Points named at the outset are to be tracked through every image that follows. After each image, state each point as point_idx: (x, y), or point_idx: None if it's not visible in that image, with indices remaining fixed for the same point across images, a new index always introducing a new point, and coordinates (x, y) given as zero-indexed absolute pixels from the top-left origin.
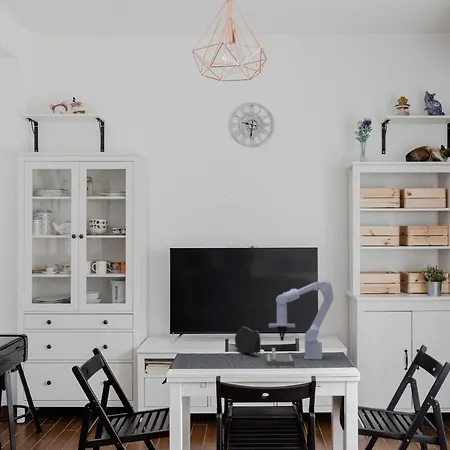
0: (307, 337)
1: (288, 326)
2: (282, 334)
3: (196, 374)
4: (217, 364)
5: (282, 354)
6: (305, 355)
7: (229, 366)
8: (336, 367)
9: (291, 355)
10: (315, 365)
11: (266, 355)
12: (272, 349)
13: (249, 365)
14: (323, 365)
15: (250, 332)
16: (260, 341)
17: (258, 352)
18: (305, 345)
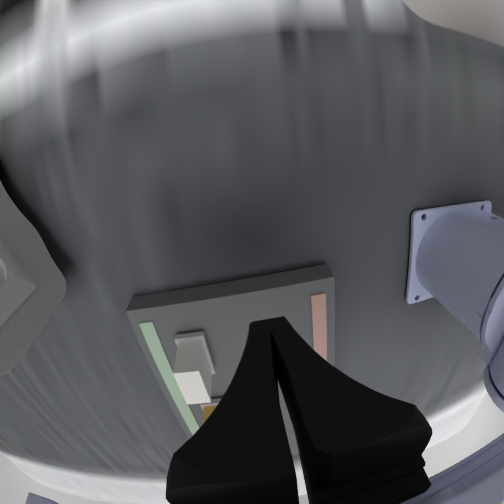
0: (500, 392)
1: (450, 487)
2: (294, 430)
3: (81, 497)
4: (34, 433)
5: (260, 300)
6: (423, 281)
7: (85, 459)
8: (458, 402)
9: (332, 325)
10: None
11: (146, 356)
12: (190, 401)
13: (138, 455)
14: (436, 394)
15: None
16: (30, 346)
17: (52, 265)
18: (465, 320)
